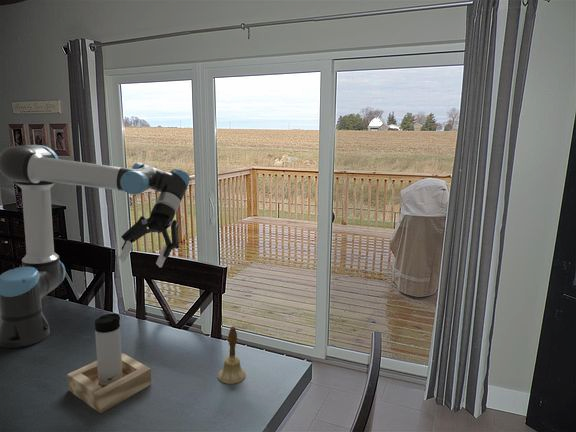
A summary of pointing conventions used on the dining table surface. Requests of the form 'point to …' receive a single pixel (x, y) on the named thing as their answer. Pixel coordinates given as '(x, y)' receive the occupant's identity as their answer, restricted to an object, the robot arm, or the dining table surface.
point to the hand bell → (231, 363)
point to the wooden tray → (113, 392)
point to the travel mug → (108, 349)
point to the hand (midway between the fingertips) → (139, 262)
